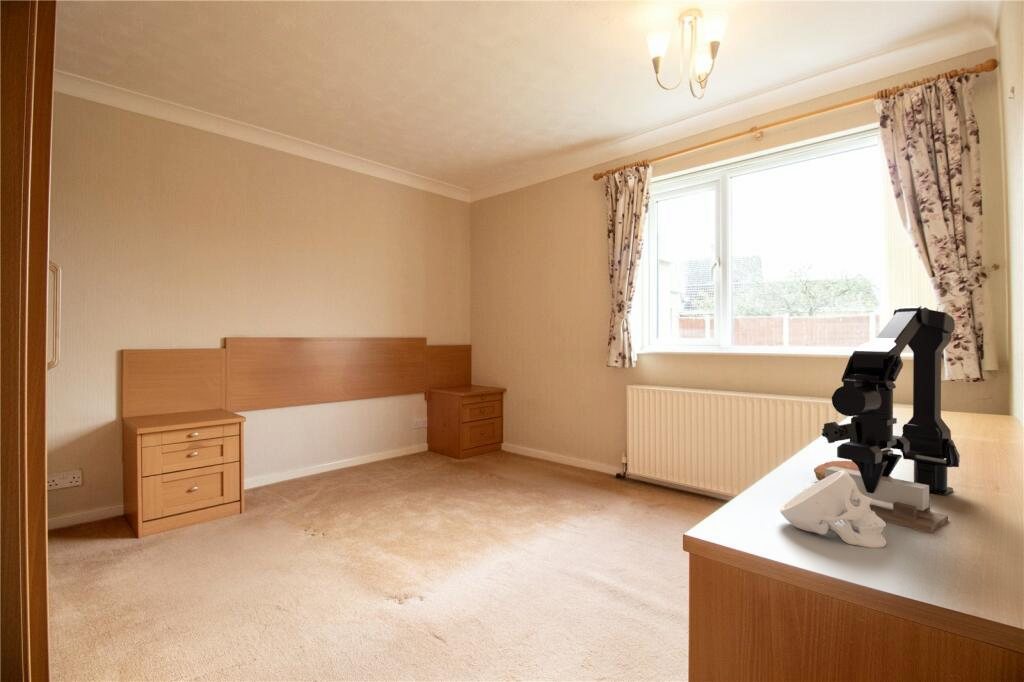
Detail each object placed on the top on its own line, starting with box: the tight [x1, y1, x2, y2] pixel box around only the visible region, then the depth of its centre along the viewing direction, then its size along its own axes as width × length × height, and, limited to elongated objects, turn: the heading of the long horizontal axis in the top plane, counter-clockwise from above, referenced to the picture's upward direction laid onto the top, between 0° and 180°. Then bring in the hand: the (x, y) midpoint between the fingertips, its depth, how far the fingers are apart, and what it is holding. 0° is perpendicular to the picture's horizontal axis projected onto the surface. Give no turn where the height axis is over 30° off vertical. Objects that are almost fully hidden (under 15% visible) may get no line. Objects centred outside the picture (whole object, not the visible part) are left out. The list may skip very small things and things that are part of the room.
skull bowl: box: [779, 470, 887, 549], centre depth 82 cm, size 10×14×12 cm
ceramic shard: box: [813, 460, 893, 482], centre depth 112 cm, size 15×6×15 cm
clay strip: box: [825, 466, 930, 511], centre depth 94 cm, size 4×16×4 cm, turn 34°
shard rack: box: [870, 498, 949, 534], centre depth 94 cm, size 10×20×4 cm, turn 34°
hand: (874, 490), depth 94 cm, fingers closed on clay strip, 3 cm apart
